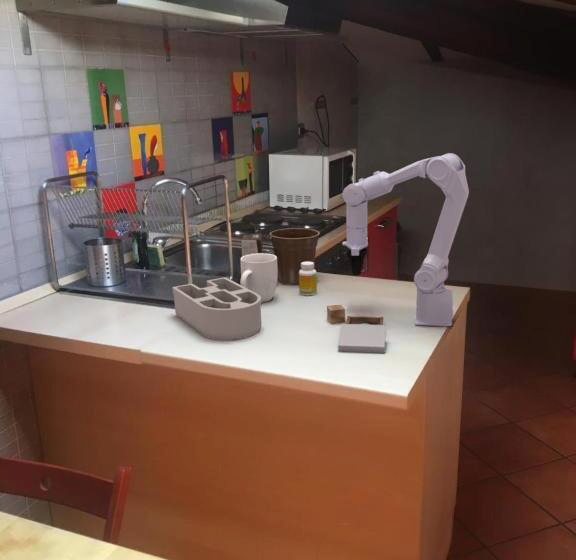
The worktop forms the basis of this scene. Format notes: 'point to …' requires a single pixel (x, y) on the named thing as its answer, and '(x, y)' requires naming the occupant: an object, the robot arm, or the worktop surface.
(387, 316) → the worktop surface
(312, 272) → the supplement bottle
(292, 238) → the plant pot
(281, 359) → the worktop surface
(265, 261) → the mug
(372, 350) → the lid
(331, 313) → the beech block
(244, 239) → the coffee box
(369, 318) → the frame
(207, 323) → the compartment caddy
